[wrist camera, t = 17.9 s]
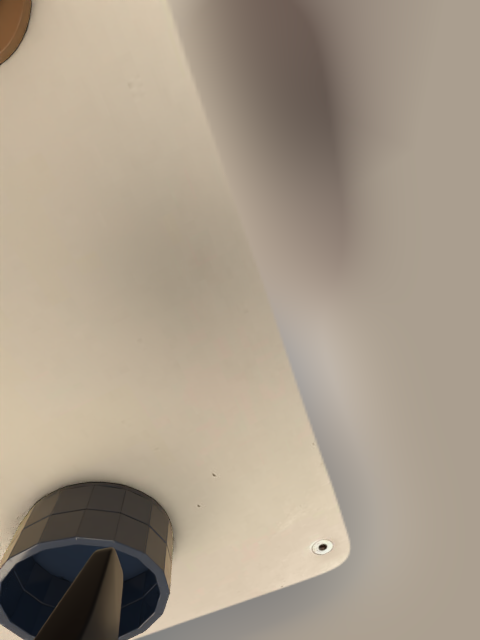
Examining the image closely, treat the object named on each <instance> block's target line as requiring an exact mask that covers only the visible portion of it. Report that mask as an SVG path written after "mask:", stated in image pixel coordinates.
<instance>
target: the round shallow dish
mask: <svg viewBox="0 0 480 640" xmlns="http://www.w3.org/2000/svg"><path fill="white" fill-rule="evenodd" d="M173 541H174V539H173V531H172V525H171V522H170V519H169V517H168V516H167V514H166V512H165V511H164V510H163V508H162V507H161V506H160V505H159V504H158V503H157V502H156V501H155V500H153V499H152V498H150V497H149V496H147V495H146V494H144V493H142V492H140V491H138V490H135V489H133V488H130V487H126V486H123V485H118V484H113V483H102V482H93V483H82V484H76V485H71V486H68V487H65V488H61V489H59V490H57V491H54V492H52V493H50V494H49V495H47V496H45V497H44V498H42V499H41V500H40V501H38V502H37V503H36V504H35V505H34V506H33V507H32V508H31V509H30V511H29V512H28V514H27V515H26V517H25V518H24V519H23V521H22V522H21V523H20V525H19V527H18V529H17V531H16V533H15V535H14V537H13V539H12V540H11V542H10V544H9V546H8V548H7V550H6V552H5V554H4V556H3V558H2V560H1V562H0V624H1V625H2V626H4V627H5V628H7V629H8V630H10V631H11V632H13V633H15V634H16V635H18V636H19V637H21V638H22V639H24V640H34V638H35V637H36V635H37V634H38V633H39V631H40V630H41V628H42V627H43V625H44V624H45V622H46V621H47V619H48V618H49V616H50V615H51V614H52V612H53V611H54V609H55V608H56V606H57V605H58V603H59V602H60V600H61V599H62V597H63V596H64V595H65V593H66V592H67V590H68V589H69V587H70V586H71V584H72V583H73V581H74V580H75V578H76V577H77V576H78V574H79V573H80V571H81V570H82V568H83V567H84V565H85V564H86V562H87V561H88V560H89V558H90V557H91V555H92V554H93V553H94V552H95V551H96V550H99V549H104V548H109V547H113V548H114V549H115V551H116V553H117V556H118V559H119V562H120V565H121V568H122V571H123V588H122V599H121V611H120V622H119V634H118V640H128V639H130V638H132V637H134V636H136V635H138V634H140V633H143V632H144V631H146V630H147V629H148V628H149V627H150V626H151V625H152V624H153V623H154V622H155V621H156V620H157V619H158V618H159V617H160V616H161V615H162V614H163V612H164V609H165V606H166V603H167V600H168V597H169V594H170V584H171V570H172V555H173Z"/></svg>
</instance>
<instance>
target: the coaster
mask: <svg viewBox="0 0 480 640" xmlns="http://www.w3.org/2000/svg"><path fill="white" fill-rule="evenodd" d="M30 10H31V0H0V64H1V63H3V62H4V61H5V60H6V59H8V58H9V57H10V55H11V54H12V53H13V52H14V51H15V50H16V48H17V47H18V45H19V44H20V42H21V40H22V38H23V36H24V33H25V31H26V28H27V25H28V21H29V17H30Z"/></svg>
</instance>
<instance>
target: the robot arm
mask: <svg viewBox="0 0 480 640" xmlns="http://www.w3.org/2000/svg"><path fill="white" fill-rule="evenodd" d="M122 588H123V571H122V568H121V565H120V562H119V559H118V556H117V553H116V551H115V549H114V548H113V547H109V548H104V549H99V550H96V551H95V552H94V553H93V554H92V555H91V557H90V558H89V560H88V561H87V562H86V564H85V565H84V567H83V568H82V570H81V571H80V573H79V574H78V576H77V577H76V578H75V580H74V581H73V583H72V584H71V586H70V587H69V589H68V590H67V592H66V593H65V595H64V596H63V597H62V599H61V600H60V602H59V603H58V605H57V606H56V608H55V609H54V611H53V612H52V614H51V615H50V616H49V618H48V619H47V621H46V622H45V624H44V625H43V627H42V628H41V630H40V631H39V633H38V634H37V635H36V637H35V638H34V640H118V634H119V622H120V611H121V599H122Z"/></svg>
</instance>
